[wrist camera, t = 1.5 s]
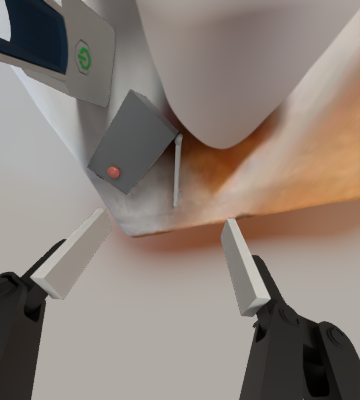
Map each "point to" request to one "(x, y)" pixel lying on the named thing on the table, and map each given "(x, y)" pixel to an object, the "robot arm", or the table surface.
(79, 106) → the table surface
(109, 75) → the electronic device
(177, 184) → the grey thin flat plate
